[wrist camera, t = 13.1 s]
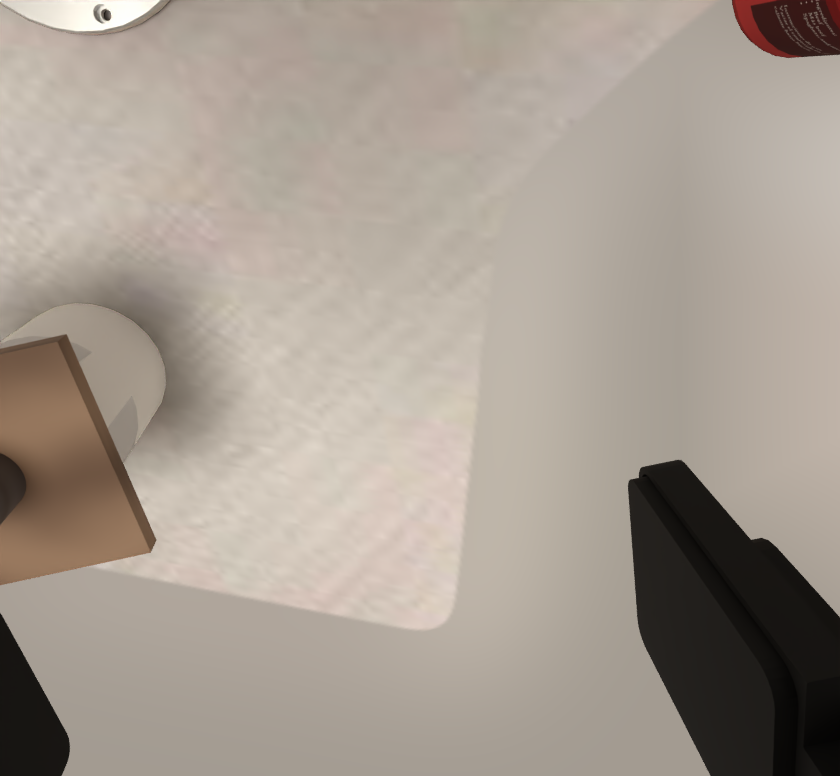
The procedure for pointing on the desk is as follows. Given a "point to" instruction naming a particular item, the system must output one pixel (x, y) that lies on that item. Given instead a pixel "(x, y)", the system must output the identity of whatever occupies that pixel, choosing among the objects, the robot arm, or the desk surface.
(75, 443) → the lid
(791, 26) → the canned food
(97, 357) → the white cylindrical piece
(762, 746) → the robot arm
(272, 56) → the desk surface
